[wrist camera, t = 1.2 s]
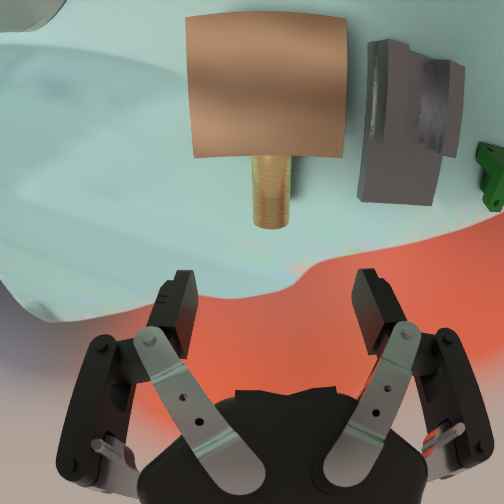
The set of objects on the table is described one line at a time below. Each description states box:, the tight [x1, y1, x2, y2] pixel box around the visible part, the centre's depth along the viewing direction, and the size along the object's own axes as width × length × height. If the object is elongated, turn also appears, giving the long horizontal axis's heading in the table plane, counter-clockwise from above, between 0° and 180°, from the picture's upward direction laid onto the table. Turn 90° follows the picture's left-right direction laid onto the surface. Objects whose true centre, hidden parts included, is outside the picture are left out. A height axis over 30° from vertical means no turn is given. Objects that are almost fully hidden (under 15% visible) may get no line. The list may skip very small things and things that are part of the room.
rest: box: [357, 39, 465, 206], centre depth 20 cm, size 16×9×4 cm, turn 1°
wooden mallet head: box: [186, 12, 347, 158], centre depth 17 cm, size 10×10×8 cm
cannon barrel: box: [252, 156, 292, 229], centre depth 20 cm, size 16×3×3 cm, turn 1°
